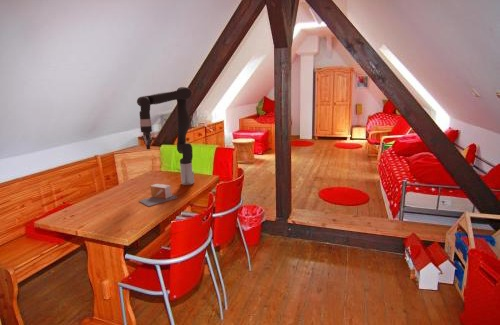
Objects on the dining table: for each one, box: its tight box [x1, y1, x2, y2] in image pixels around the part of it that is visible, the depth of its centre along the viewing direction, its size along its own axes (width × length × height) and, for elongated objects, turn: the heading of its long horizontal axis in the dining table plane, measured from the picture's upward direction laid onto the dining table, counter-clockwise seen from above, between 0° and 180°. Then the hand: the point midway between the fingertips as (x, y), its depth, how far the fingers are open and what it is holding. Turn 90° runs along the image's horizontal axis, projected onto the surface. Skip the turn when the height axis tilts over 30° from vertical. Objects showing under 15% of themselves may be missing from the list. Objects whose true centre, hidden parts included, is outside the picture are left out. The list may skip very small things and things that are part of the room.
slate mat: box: [138, 193, 179, 208], centre depth 210 cm, size 22×14×1 cm, turn 134°
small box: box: [149, 183, 172, 199], centre depth 214 cm, size 8×6×13 cm
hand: (148, 149), depth 221 cm, fingers closed
